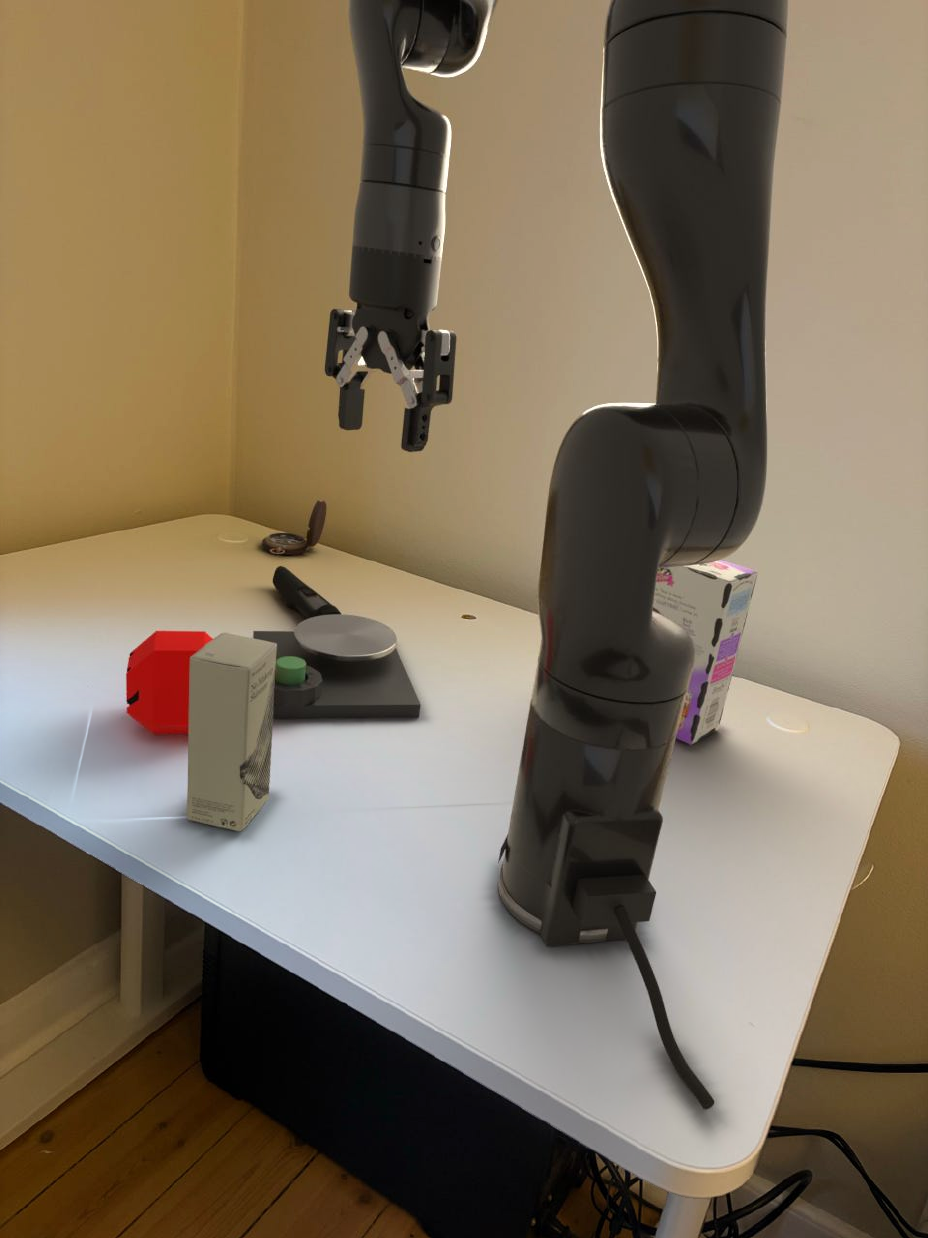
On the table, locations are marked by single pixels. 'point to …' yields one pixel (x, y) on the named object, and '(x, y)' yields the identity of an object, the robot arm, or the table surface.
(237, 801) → the box
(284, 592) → the electric trimmer
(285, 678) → the tare button
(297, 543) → the compass
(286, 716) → the scale
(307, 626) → the weighing pan
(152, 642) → the red chamfered polyhedron
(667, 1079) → the table surface
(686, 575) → the candy box
